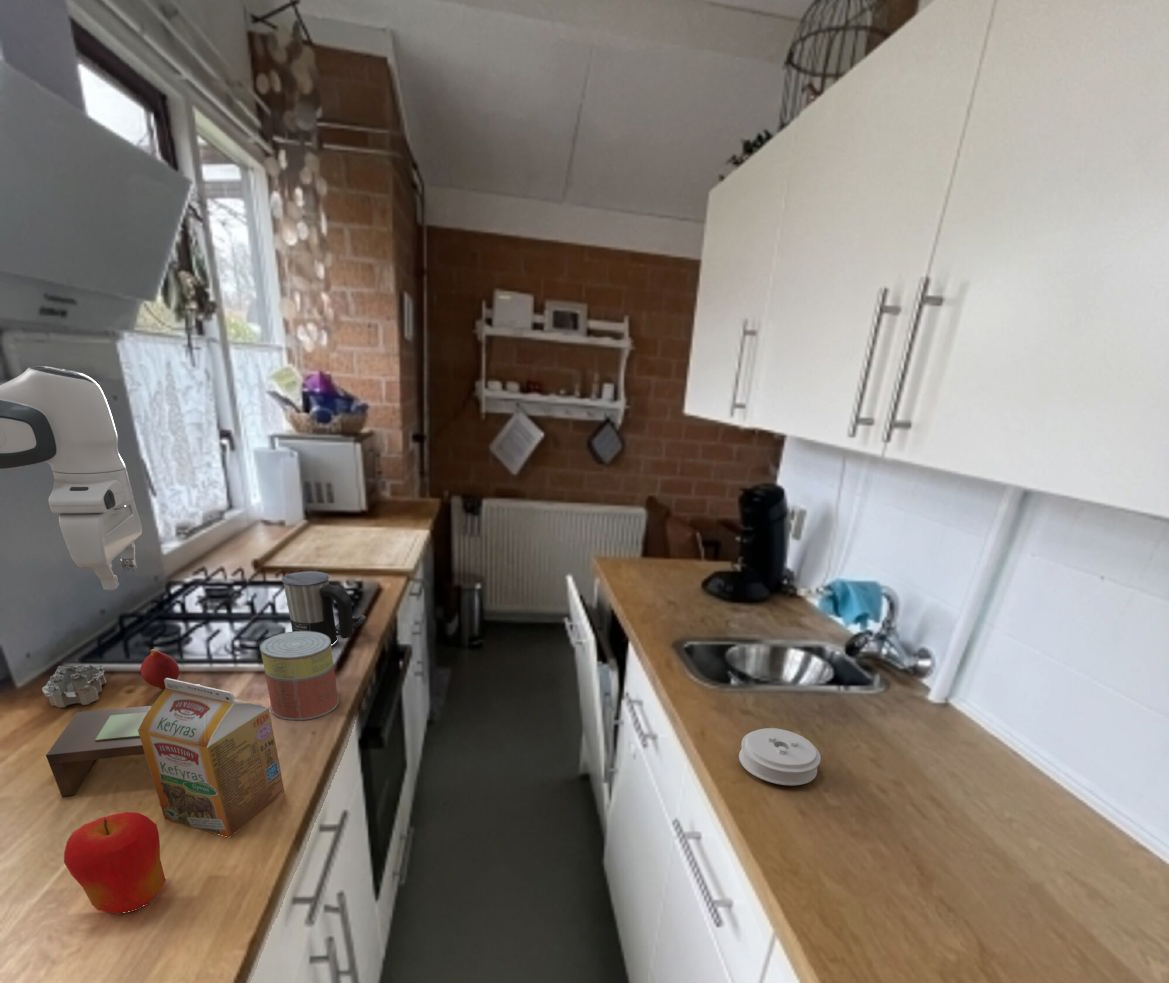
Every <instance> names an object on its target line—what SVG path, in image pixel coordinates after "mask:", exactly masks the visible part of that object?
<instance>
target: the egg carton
mask: <svg viewBox="0 0 1169 983" xmlns="http://www.w3.org/2000/svg"><path fill="white" fill-rule="evenodd" d="M105 672H106V669H105V666H104V665H101V664H100V665H99V666H98V667H94V666H93V665H91V664H89V665H87V666H86V665H73V666H64V665H58V666H57V668H56V670H55V672H54V673H53V675H51V676H50V677H49V680H47V682H46V684H45V685H44V686H43V687H41V691H42V693H43V694H44V696H45V697H47V698H48V700H49V704H50V706H54V707H57V708H59V709H60V708H61V709H62V708H66V707H67V706H69V705H74V704H81V706H87V705H90V704H91V703H93V702H96V701H98V700H99V699H100V697H99V693H102V692H103V688H102V686H103V685H106V684H107V680H106V677H105Z"/></svg>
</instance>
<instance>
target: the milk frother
mask: <svg viewBox="0 0 1169 983" xmlns="http://www.w3.org/2000/svg"><path fill="white" fill-rule="evenodd" d="M330 578H331V577H330V575H329V574H328V573H326V572H323V571H317V570H315V571H314V570H313V571H312V570H309V571H308V570H307V571H298V572H292V573H289V574H286V575H284V576H282V578H281V582H282V583H283V587H284V592H285V593H284V594H285V598H286V604H287V609H288V614H289V620H290V626H291V632H294V631H312V632H318V633H322V634H325V635H327V636H328V637H329V638H330V639H331V644H333V643H334V642H335V641H336V640H337V638H338V636H340V638H341V639H348V638H349V637H351V636H352V635H353V634H354V629H356V628H358V627H359V626H361V625H363V624H364V623H365V622H366V621H367V616H365V615H363V614H360V615H359V614H358V615H353V608H352V607H353V606H352V600H351V596H350V595H349V593H348V592H347V590H345V589H344V588H342V587H341V586H338V585H333V584H330V582H329V579H330ZM332 599H333V600H334V602H335V603H336V606H337V617H338V623H336V621H335V620H336V619H335V614H334V607H333V606H334V605H333V602H332V601H333V600H332Z"/></svg>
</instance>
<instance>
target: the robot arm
mask: <svg viewBox="0 0 1169 983" xmlns="http://www.w3.org/2000/svg"><path fill="white" fill-rule="evenodd" d="M107 400H108V399H107V398H106V396H105V394H104V391H103V390H102V388H101V386H100V384H98V383H97V381H96V380H94V379H93V378H92V377H90V376H89V375H87V374H85V373H83V372H78V371H76V370H71V369H68V368H67V369H66V368H61V367H56V366H47V365H32V366H29V367H27V369H26V370H25V371H24V372H22V373H21V374H19V375H18V376H16V377H14V378H12V379H10V380H8V381H6V382H0V470H14V469H19V468H24V467H26V466H31V465H37V464H40V463H45V464H48V465H49V466H50V469H51V471H52V475H53V478H54V480H53V488H52V491H51V493H50V495H49V497H48V504H49V508H50V512H51V513H53V514H57V515H58V514H59V515H58V524H59V528H60V531H61V534H62V537H63V540H64V542H65V545H66V547H67V550H68V553H69V555H70V557H71V559H72V561H73V563H74V564H75V565H76V566H77V567H78V568H80V569H92V571H93V572H94V574H95V575H96V576H97V577H98V579H99V580H100V583H101V587H102V589H103V590H105V591H115V590H117V589H118V588H119V586H120V582H119V578H118V575H115V574H114V571H113V569H112V568H113V564H112V561H114V560H115V559H116V558H117V557H118V556H119V555H120V560H119V562H120V565H121V569H122V571H124V572H133V571H135V570H136V569H137V568H138V563H137V560H136V544H135V541H136V540H137V539H138V538H139V537H140V536H142V534H143V525H142V522H141V518H140V514H139V512H138V509H137V506H136V502H135V500H134V499H135V498H134V496H135V495H134V493H133V490H132V485H131V482H130V478H129V473H128V470H127V466H126V463H125V462H124V460H123V458H122V456H121V455H120V452H119V451H120V450H119V448H118V443H119V435H118V432H117V428H116V425H115V422H114V418H113V415H112V411H111V409H110V406H109V403H108V401H107Z"/></svg>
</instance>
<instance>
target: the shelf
mask: <svg viewBox="0 0 1169 983" xmlns="http://www.w3.org/2000/svg"><path fill="white" fill-rule="evenodd" d="M196 684H197V685H201V683H196ZM151 707H152V705H143V706H142V705H141V706H131V707H130V706H129V707H120V708H108V709H98V710H97V709H96V710H86V711H85V710H84V711H76V713H75V714H74V715H73V717H72V718H71V720H70V721H69V722H68V724H67V725H66V726H65V727H64V729H63V731H62V732H61V734H60V735H59V736H58V738H56V740H55V742H54V743H53V744H52V746H51V747H50V748H49V750H48V752H46V754H45V757H46V759H47V762H48V765H49V768H50V770H51V773H52V775H53V777H54V780H55V783H56V785H57V788H58V790H59V793H60V796H61V797H62V798H64V797H74V796H75V795H76V794H77V792H78V790H79V788H80V787H81V785H82V784H83V782H84V780H85V778H86V777H87V776H88V773H89V772H90V771H91V768H92V767H93V765H94V763H95V762H96V760H102V759H110V758H111V759H112V758H121V757H128V756H129V757H130V756H139V755H145V752H144V749H143V746H142V742H141V739H140V736H139V733H138V729H139V727H140V725H141V723H142V721H143V719H144V717H145V716H146V714H147V713H148V711H149V710H150V708H151Z"/></svg>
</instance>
